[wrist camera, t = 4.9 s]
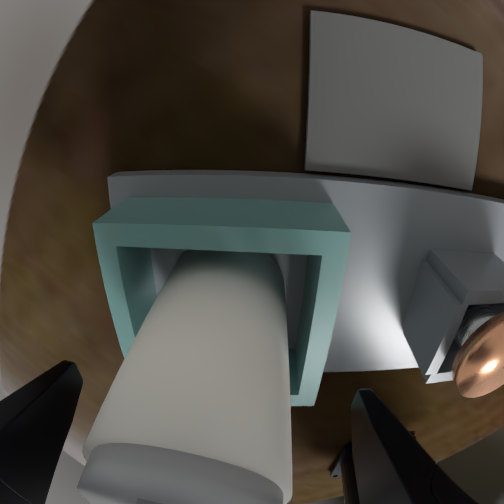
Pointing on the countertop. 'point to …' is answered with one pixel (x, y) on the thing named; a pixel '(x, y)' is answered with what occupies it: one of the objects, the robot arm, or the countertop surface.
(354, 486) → the robot arm
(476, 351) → the plunger
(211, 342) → the cartridge
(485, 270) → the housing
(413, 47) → the mat
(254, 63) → the countertop surface
